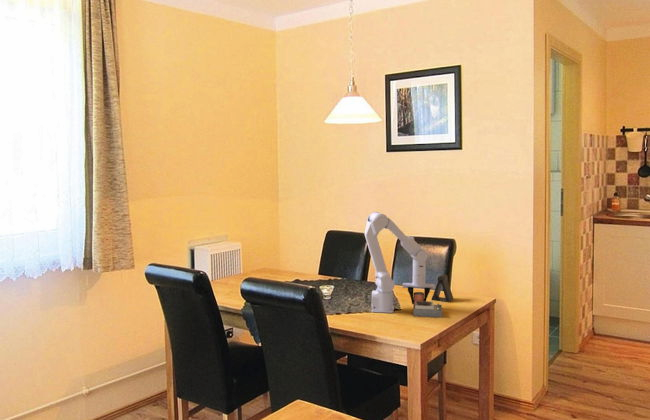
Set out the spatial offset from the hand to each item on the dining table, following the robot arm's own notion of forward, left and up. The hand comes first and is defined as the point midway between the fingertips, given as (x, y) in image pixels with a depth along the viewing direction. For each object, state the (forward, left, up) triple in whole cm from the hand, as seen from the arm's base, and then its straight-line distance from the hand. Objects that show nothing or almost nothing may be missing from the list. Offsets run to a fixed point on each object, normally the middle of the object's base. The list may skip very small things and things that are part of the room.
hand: (418, 303), depth 254 cm
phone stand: (+11, +16, -2) cm, 20 cm away
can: (0, 0, -2) cm, 2 cm away
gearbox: (+4, -9, -2) cm, 10 cm away
